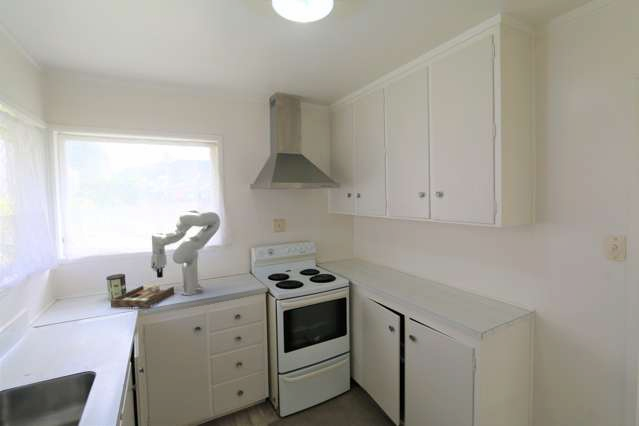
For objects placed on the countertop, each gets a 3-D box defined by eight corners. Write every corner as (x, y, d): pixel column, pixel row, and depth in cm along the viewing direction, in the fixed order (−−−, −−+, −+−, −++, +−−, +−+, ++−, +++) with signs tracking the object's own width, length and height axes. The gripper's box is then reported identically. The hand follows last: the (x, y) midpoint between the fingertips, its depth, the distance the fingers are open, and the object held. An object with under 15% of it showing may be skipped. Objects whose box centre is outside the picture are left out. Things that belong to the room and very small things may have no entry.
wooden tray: (174, 293, 198) (173, 286, 197) (146, 308, 173) (146, 301, 172) (142, 292, 201) (141, 285, 201) (111, 307, 177) (110, 300, 176)
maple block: (159, 290, 197) (159, 285, 197) (154, 293, 192) (153, 287, 192) (153, 290, 198) (152, 284, 198) (147, 293, 193) (147, 287, 193)
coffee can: (122, 292, 201) (120, 273, 200) (129, 295, 196) (128, 275, 194) (105, 297, 193) (103, 277, 191) (112, 300, 187) (110, 279, 186)
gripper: (161, 248, 209) (162, 273, 211) (145, 253, 194) (147, 280, 196) (170, 249, 208) (171, 274, 209) (156, 254, 193) (157, 281, 195)
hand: (160, 277), depth 203 cm, fingers closed
